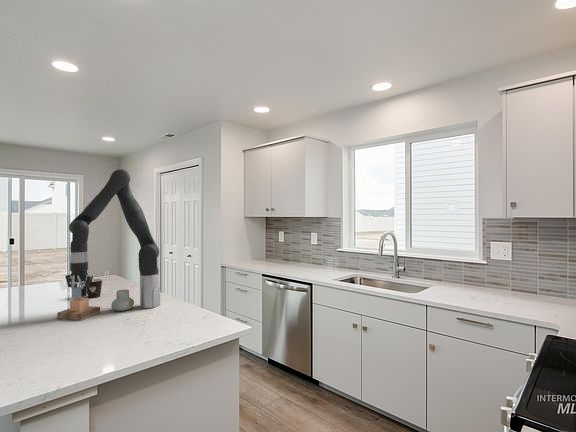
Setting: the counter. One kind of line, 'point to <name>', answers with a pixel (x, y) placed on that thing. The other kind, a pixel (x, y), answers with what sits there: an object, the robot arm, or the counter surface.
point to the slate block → (77, 292)
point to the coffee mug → (94, 288)
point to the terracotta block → (79, 304)
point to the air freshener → (122, 301)
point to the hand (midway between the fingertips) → (79, 295)
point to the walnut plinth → (78, 314)
